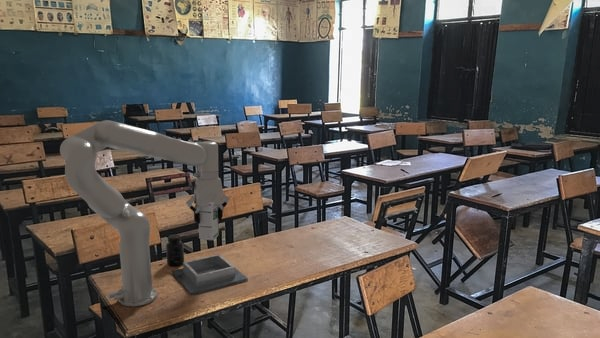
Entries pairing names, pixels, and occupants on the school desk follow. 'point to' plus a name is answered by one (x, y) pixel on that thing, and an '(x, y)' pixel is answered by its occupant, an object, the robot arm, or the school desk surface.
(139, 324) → the school desk surface
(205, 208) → the syrup box
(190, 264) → the socket
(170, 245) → the supplement bottle
